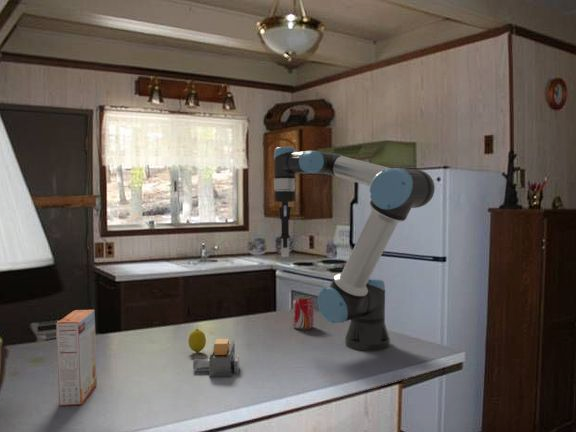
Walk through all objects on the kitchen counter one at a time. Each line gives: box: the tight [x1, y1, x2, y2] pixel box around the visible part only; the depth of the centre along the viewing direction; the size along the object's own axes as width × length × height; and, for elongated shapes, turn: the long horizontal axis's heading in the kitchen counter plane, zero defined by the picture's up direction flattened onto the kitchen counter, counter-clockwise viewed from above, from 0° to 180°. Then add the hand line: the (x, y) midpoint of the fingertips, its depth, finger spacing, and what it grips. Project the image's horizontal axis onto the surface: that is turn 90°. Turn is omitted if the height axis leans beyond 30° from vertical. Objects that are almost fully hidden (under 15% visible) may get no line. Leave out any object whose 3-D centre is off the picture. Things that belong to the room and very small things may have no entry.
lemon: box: [188, 328, 207, 354], centre depth 172 cm, size 6×6×8 cm
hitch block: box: [208, 340, 236, 378], centre depth 157 cm, size 6×14×6 cm, turn 1°
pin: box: [192, 354, 240, 374], centre depth 155 cm, size 13×6×3 cm, turn 91°
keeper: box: [213, 338, 230, 355], centre depth 154 cm, size 4×6×3 cm, turn 1°
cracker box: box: [55, 309, 98, 407], centre depth 136 cm, size 14×6×21 cm, turn 5°
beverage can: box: [292, 294, 315, 331], centre depth 205 cm, size 8×8×12 cm
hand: (285, 256), depth 190 cm, fingers closed
